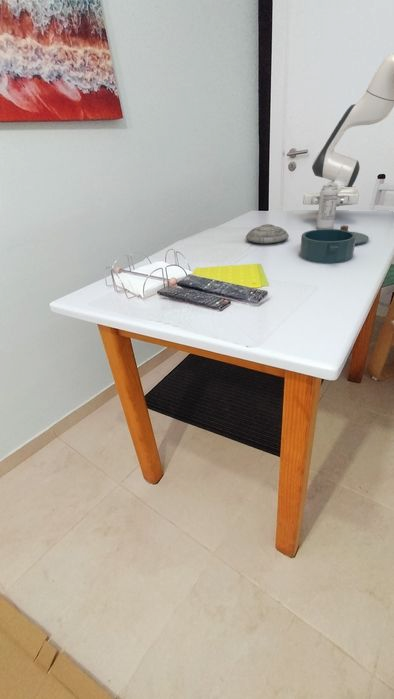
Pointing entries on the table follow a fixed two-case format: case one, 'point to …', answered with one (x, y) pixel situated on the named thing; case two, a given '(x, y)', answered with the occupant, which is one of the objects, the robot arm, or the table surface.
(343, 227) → the pot lid
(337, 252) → the pot
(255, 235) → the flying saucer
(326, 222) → the energy drink can
